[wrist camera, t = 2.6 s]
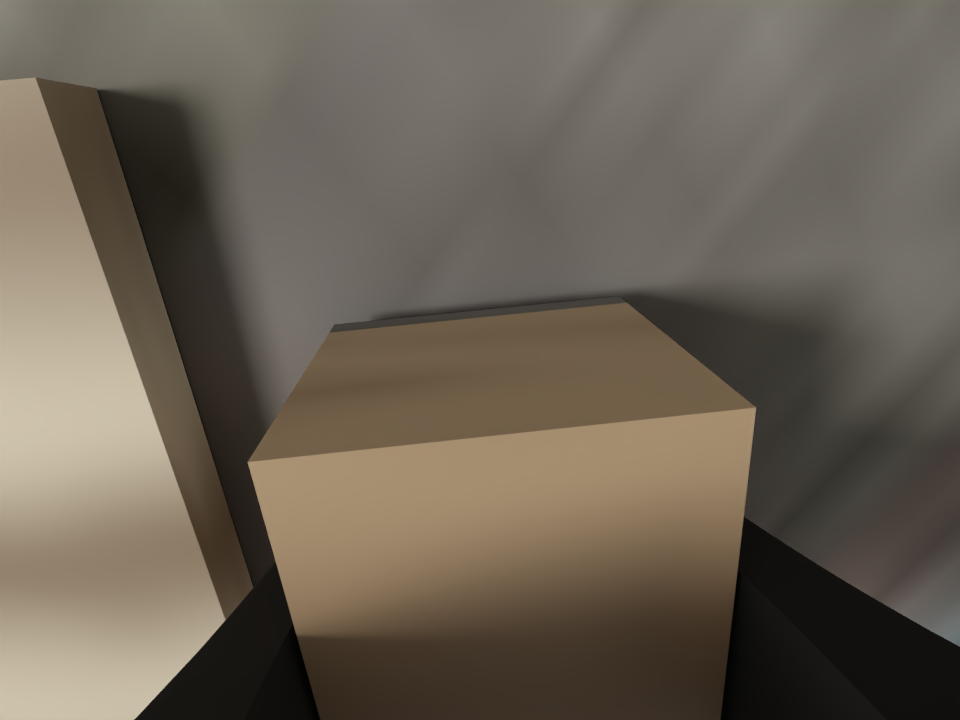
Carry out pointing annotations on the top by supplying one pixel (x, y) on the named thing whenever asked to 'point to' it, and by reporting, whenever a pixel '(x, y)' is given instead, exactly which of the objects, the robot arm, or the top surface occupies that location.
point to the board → (94, 435)
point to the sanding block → (509, 517)
